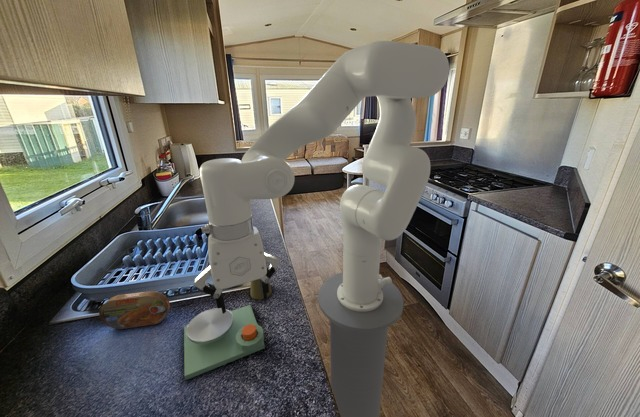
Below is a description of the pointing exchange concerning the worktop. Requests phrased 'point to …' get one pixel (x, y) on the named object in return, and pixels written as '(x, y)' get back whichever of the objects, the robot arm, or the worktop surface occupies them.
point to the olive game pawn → (258, 289)
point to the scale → (222, 345)
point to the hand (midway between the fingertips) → (244, 301)
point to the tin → (134, 310)
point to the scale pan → (209, 326)
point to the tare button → (249, 332)
